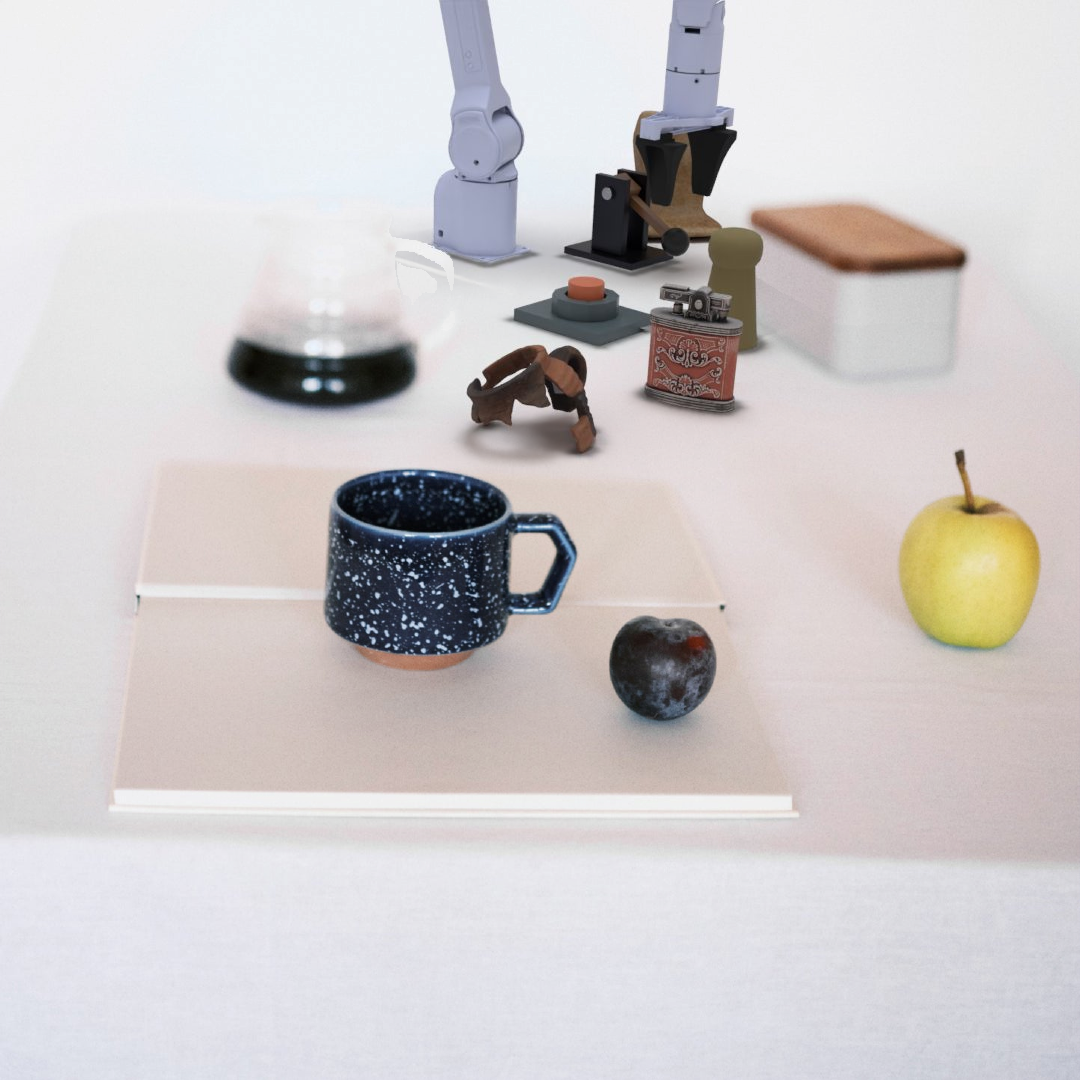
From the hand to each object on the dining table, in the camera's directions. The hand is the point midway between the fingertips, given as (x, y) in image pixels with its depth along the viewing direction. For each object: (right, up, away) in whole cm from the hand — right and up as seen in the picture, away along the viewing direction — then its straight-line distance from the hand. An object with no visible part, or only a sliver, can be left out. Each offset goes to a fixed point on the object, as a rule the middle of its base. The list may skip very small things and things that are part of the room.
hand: (681, 199), depth 152 cm
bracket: (-6, -5, +9) cm, 12 cm away
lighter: (-3, -26, -32) cm, 41 cm away
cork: (+3, -18, -17) cm, 25 cm away
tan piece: (-1, 0, +20) cm, 20 cm away
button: (-11, -14, -15) cm, 23 cm away
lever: (-4, -2, +5) cm, 6 cm away
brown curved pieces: (-16, -29, -40) cm, 52 cm away
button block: (-11, -16, -14) cm, 24 cm away
